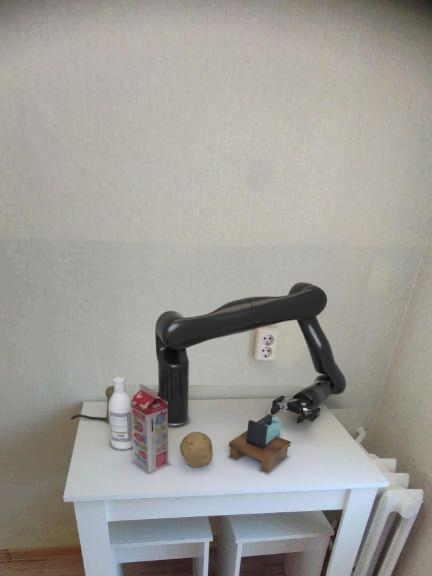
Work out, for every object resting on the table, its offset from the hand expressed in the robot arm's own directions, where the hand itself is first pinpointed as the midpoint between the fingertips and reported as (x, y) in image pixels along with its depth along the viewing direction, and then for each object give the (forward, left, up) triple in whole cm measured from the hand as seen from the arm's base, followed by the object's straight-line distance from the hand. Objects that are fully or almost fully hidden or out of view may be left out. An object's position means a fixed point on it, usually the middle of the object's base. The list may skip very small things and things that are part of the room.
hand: (284, 416), depth 137 cm
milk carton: (-33, -25, -8) cm, 42 cm away
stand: (-5, -13, -8) cm, 16 cm away
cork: (-52, -5, -8) cm, 53 cm away
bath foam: (-44, -18, -8) cm, 48 cm away
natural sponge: (-21, -22, -8) cm, 31 cm away
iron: (-4, -10, -3) cm, 11 cm away
